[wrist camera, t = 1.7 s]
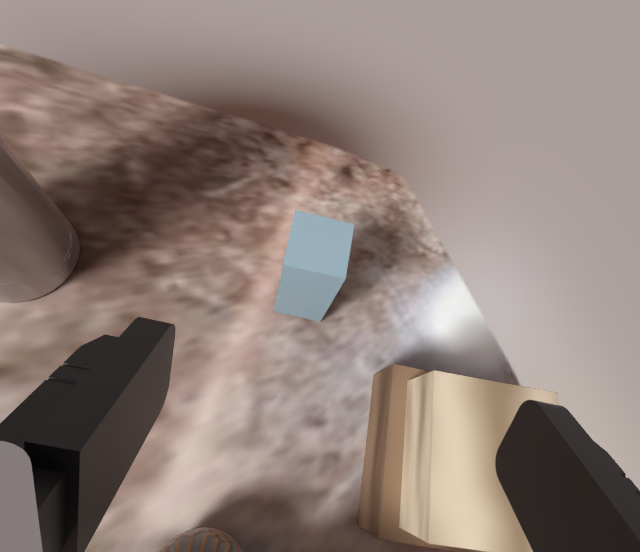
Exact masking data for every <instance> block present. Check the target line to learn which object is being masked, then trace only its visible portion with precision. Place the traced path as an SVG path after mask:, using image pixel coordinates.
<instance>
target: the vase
mask: <svg viewBox="0 0 640 552" xmlns="http://www.w3.org/2000/svg"><path fill="white" fill-rule="evenodd" d="M160 552H243V550H242V548H241V547H240V545H239V544H238V543H237V541H236V540H235V539H234V538H233V537H231V536H230V535H229V534H227V533H226V532H224V531H222V530H219V529H216V528H210V527H200V528H194V529H191V530H188V531H186V532H184V533H182V534H180V535H178V536H177V537H175V538H174V539H172V540H171V541H170V542H169V543H168V544H166V545H165V546H164V547H163V548H162V550H161V551H160Z"/></svg>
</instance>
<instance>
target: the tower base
mask: <svg viewBox="0 0 640 552" xmlns="http://www.w3.org/2000/svg"><path fill="white" fill-rule="evenodd" d="M429 372H431V371H427V370H422V369H417V368H412V367H407V366H402V365H397V364H393V365H391V366H389V367H387V368H386V369H384V370H382V371H380V372H378V373H376V374H375V375H374V377H373V386H372V395H371V404H370V413H369V422H368V431H367V440H366V449H365V459H364V468H363V477H362V486H361V495H360V504H359V513H358V522H357V524H358V525H359V526H360V527H362V528H363V529H365V530H366V531H367V532H369V533H370V534H371V535H373V536H374V537H376V538H377V539H380V540H386V541H392V542H398V543H404V544H410V545H416V546H422V547H428V548H434V549H441V550H447V551H453V552H486V551H479V550H472V549H464V548H457V547H450V546H443V545H436V544H429V543H427V542H425V541H423V540H421V539H420V538H418V537H416V536H414V535H412V534H410V533H409V532H407V531H405V530H403V529H401V528H399V522H400V504H401V486H402V469H403V451H404V433H405V416H406V398H407V381H408V380H411V379H413V378H416V377H418V376H421V375H423V374H426V373H429Z"/></svg>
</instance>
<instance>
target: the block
mask: <svg viewBox="0 0 640 552" xmlns="http://www.w3.org/2000/svg"><path fill="white" fill-rule="evenodd" d="M353 230H354V224H351V223H347V222H343V221H339V220H335V219H331V218H326V217H322V216H318V215H314V214H310V213H305V212H301V211H297V210H295V214H294V219H293V223H292V227H291V232H290V236H289V240H288V244H287V249H286V253H285V257H284V262H283V266H282V271H281V276H280V281H279V287H278V292H277V297H276V302H275V307H274V312H278V313H282V314H287V315H292V316H296V317H301V318H305V319H310V320H315V321H319V322H320V321H321V320H322V318H323V316H324V315H325V313H326V311H327V310H328V308H329V306H330V304H331V303H332V301H333V299H334V298H335V296H336V294H337V293H338V291H339V289H340V288H341V286H342V284H343V282H344V281H345V279H346V274H347V268H348V261H349V255H350V249H351V243H352V236H353Z"/></svg>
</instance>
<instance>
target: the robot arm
mask: <svg viewBox="0 0 640 552" xmlns="http://www.w3.org/2000/svg"><path fill="white" fill-rule="evenodd" d="M79 252H80V244H79V238H78V235H77V233H76V231H75V229H74V228H73V226H72V225H71V224H70V223H69V221H68V220H67V219H66V218H65V216H64V215H63V214H62V213H61V211H60V210H59V209H58V208H57V206H56V205H55V203H54V202H53V201H52V200H51V198H50V197H49V196H48V195H47V193H46V192H45V191H44V190H43V188H42V187H41V186H40V185H39V183H38V182H37V181H36V180H35V178H34V177H33V176H32V175H31V173H30V172H29V171H28V170H27V168H26V167H25V166H24V165H23V163H22V162H21V161H20V160H19V158H18V157H17V156H16V155H15V153H14V152H13V151H12V150H11V148H10V147H9V146H8V144H7V143H6V142H5V141H4V139H3V138H2V137H1V136H0V302H9V303H17V302H24V301H30V300H33V299H36V298H39V297H42V296H44V295H46V294H47V293H49V292H51V291H53V290H54V289H56V288H57V287H58V286H60V285H61V284H62V283H63V282H64V281H65V280H66V279H67V278H68V277H69V276H70V274H71V273H72V271H73V269H74V268H75V266H76V264H77V261H78V258H79ZM174 340H175V325H174V324H170V323H165V322H161V321H156V320H151V319H146V318H141V317H138V318H136V319H135V320H134V321H133V322H132V323H131V324H130V325H129V327H128V328H127V329H126V330H125V331H124V332H123V333H122V334H121V335H120V336H119V337H114V336H109V335H103V336H101V337H99V338H97V339H95V340H93V341H91V342H88V343H86V344H84V345H82V346H80V347H79V348H78V349H77V350H76V351H75V352H74V353H73V354H72V355H71V356H70V357H69V358H68V359H67V360H66V361H65V362H64V364H63V366H60V367H59V368H58V369H57V370H55V371H54V372H53V373H52V374H51V375H50V376H49V379H48V380H45V381H44V382H43V383H42V384H41V385H40V386H39V387H38V388H37V389H36V390H35V391H34V392H33V393H32V394H31V395H30V396H28V397H27V398H26V399H25V400H24V401H23V402H22V403H21V404H20V405H19V406H18V407H17V408H16V409H15V410H14V411H13V412H12V413H11V414H10V415H9V416H8V417H7V418H6V419H5V420H4V421H3V422H1V423H0V552H84V551H85V549H86V548H87V546H88V544H89V542H90V540H91V538H92V537H93V535H94V533H95V531H96V529H97V527H98V526H99V524H100V522H101V520H102V518H103V516H104V515H105V513H106V511H107V509H108V507H109V505H110V503H111V502H112V500H113V498H114V496H115V494H116V492H117V491H118V489H119V487H120V485H121V483H122V481H123V480H124V478H125V476H126V474H127V472H128V470H129V469H130V467H131V465H132V463H133V461H134V459H135V458H136V456H137V454H138V452H139V450H140V448H141V446H142V445H143V443H144V441H145V439H146V437H147V435H148V434H149V432H150V430H151V428H152V426H153V424H154V423H155V421H156V419H157V417H158V415H159V413H160V411H161V409H162V407H163V404H164V401H165V398H166V395H167V391H168V387H169V380H170V372H171V364H172V356H173V348H174ZM495 467H496V474H497V477H498V479H499V482H500V484H501V486H502V488H503V490H504V492H505V494H506V496H507V498H508V500H509V502H510V505H511V507H512V509H513V511H514V513H515V515H516V517H517V519H518V521H519V523H520V525H521V528H522V530H523V532H524V534H525V536H526V538H527V540H528V542H529V544H530V546H531V548H532V550H533V552H640V491H639V489H638V488H637V487H636V486H635V485H634V483H633V482H632V481H631V480H630V479H629V478H626V477H625V473H624V472H623V470H622V469H621V468H620V467H619V466H618V465H617V463H616V462H615V461H614V460H613V459H612V457H611V456H610V455H609V454H608V453H607V452H606V451H605V450H604V449H603V448H601V447H600V446H599V445H598V444H597V443H595V442H594V441H593V440H592V439H591V438H590V436H589V435H588V434H587V433H586V432H585V430H584V429H583V428H582V427H581V425H580V424H579V423H578V422H577V421H576V420H575V418H574V417H573V416H572V415H571V413H570V412H569V411H568V410H567V409H566V408H564V407H562V406H559V405H554V404H549V403H544V402H540V401H535V400H526V401H525V402H523V403H522V404H521V406H520V407H519V409H518V411H517V413H516V415H515V417H514V419H513V421H512V423H511V425H510V426H509V428H508V430H507V432H506V434H505V436H504V438H503V440H502V442H501V444H500V446H499V448H498V450H497V453H496V459H495Z"/></svg>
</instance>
